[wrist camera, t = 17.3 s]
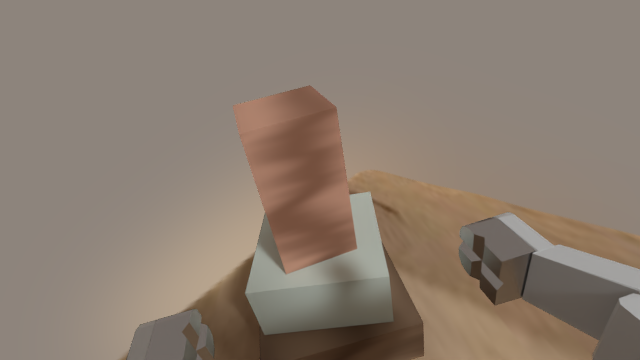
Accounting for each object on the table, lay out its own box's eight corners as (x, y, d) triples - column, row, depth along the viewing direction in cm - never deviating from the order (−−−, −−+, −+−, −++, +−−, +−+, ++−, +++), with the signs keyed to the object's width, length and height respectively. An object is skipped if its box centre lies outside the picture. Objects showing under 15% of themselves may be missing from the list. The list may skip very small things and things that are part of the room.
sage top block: (264, 334, 22) (245, 293, 20) (279, 244, 30) (266, 207, 28) (393, 321, 21) (389, 276, 19) (374, 232, 29) (370, 191, 27)
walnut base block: (278, 401, 23) (260, 369, 20) (271, 282, 32) (258, 251, 30) (423, 359, 23) (423, 322, 21) (375, 254, 33) (371, 221, 30)
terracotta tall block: (286, 274, 21) (239, 134, 15) (273, 228, 25) (232, 105, 19) (357, 248, 21) (336, 107, 16) (333, 208, 25) (310, 85, 20)
